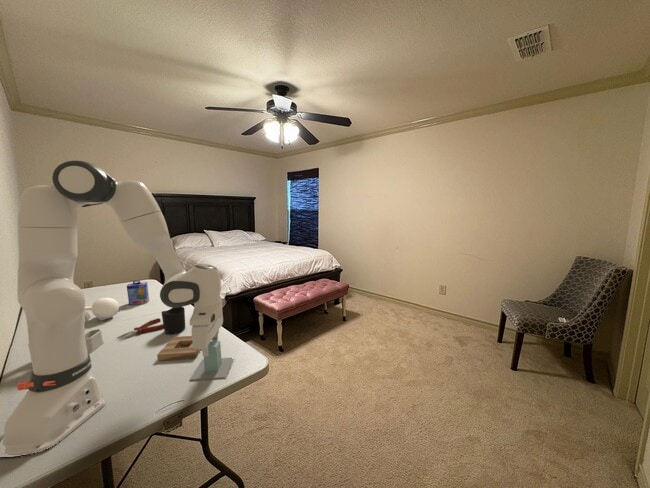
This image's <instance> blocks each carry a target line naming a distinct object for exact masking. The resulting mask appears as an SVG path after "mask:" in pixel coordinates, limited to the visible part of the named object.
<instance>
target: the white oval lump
mask: <svg viewBox="0 0 650 488" xmlns="http://www.w3.org/2000/svg"><path fill="white" fill-rule="evenodd" d="M119 309H120V304H119V302H118V301H117V300H116V299H114V298H111V297H101V298H99V299H97V300H95V301H94V302H93V304H92V305H90V306H85V311H91V313H92V314H93V315H94V316H95V317H96V318H97V319H99V321H105V320H108V319H111V318H114V316H116V314H118V312H119Z"/></svg>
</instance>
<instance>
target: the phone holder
mask: <svg viewBox="0 0 650 488" xmlns="http://www.w3.org/2000/svg"><path fill="white" fill-rule="evenodd" d="M90 319H91V316H90V313H89V312H87V310H85V324H86V323H87V322H89V320H90ZM85 340H86V346H87V353H88V354H89V355H91V354H93V353H94V352H95V351H97V350H98V349H99V348H100V347H102V346H103V345H104V344H105V342H104V340H103V335H102V330H101V329H99V328H98V329H92V330H90V331H88V332H85Z"/></svg>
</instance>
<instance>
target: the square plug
mask: <svg viewBox="0 0 650 488" xmlns="http://www.w3.org/2000/svg"><path fill="white" fill-rule="evenodd" d="M208 349H209V352H210V353H209V355H208V356H205V357H204V356H203V359H204V367H205V372H213V371H218V370H219V368H220V366H221V364H222V360H221V358H222V351H221V350H222V348H221V341H220V340H218V341H212V340H211V342H210V343H209V345H208Z"/></svg>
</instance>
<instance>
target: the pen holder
mask: <svg viewBox="0 0 650 488" xmlns="http://www.w3.org/2000/svg"><path fill="white" fill-rule="evenodd" d="M161 317H162V318H161V319H162V324H163V326H164V329H163V331H164V333H165V334H167V335H177V334H180V333H182V332H183V331H185V329H186V313H185V306H183V307H179V308H171V307H170V308H169V309H168V310H162V311H161Z"/></svg>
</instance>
